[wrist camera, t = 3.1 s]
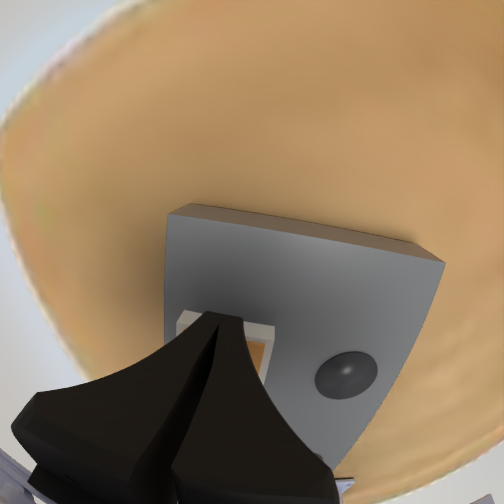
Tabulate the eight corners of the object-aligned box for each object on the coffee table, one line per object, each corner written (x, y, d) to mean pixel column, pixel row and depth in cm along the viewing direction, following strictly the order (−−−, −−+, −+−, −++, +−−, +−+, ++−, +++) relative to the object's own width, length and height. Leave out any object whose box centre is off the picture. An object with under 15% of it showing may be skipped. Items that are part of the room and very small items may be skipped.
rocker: (252, 420, 12) (249, 436, 11) (182, 406, 12) (177, 421, 11) (274, 326, 11) (274, 342, 10) (184, 309, 11) (175, 323, 10)
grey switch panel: (311, 468, 20) (312, 494, 17) (184, 451, 20) (175, 477, 17) (417, 244, 13) (447, 264, 10) (190, 203, 13) (166, 214, 10)
